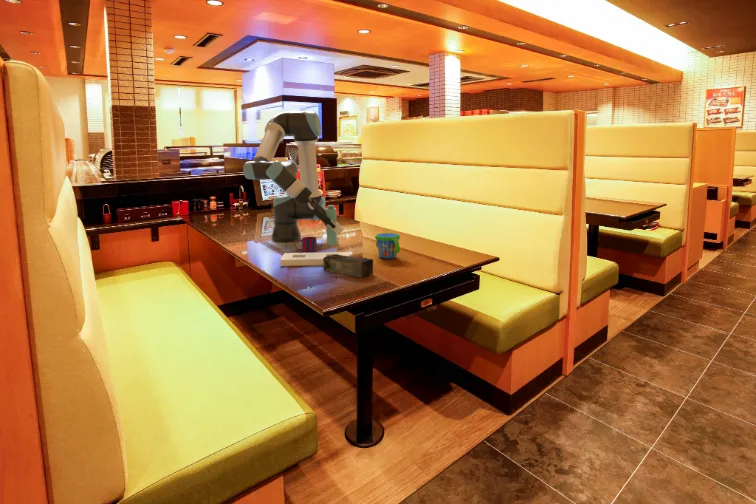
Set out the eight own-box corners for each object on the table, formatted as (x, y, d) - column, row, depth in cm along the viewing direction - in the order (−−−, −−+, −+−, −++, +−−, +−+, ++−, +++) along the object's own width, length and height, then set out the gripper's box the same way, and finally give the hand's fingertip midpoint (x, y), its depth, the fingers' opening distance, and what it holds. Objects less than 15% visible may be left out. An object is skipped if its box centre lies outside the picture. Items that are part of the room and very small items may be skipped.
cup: (317, 253, 220) (316, 239, 218) (294, 254, 218) (294, 239, 217) (316, 250, 226) (316, 236, 224) (295, 251, 225) (294, 236, 223)
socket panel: (284, 259, 208) (284, 253, 207) (349, 258, 210) (349, 252, 209) (280, 266, 196) (280, 259, 196) (349, 265, 198) (348, 258, 197)
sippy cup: (369, 255, 216) (369, 233, 214) (390, 252, 221) (390, 231, 218) (384, 262, 202) (384, 239, 200) (406, 260, 207) (406, 236, 205)
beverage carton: (335, 267, 196) (334, 251, 194) (374, 274, 186) (374, 257, 184) (322, 272, 189) (322, 255, 188) (362, 279, 179) (362, 262, 178)
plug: (327, 242, 203) (326, 205, 199) (336, 242, 204) (335, 204, 200) (327, 245, 199) (325, 206, 195) (336, 244, 200) (335, 206, 196)
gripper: (295, 196, 204) (335, 233, 209) (290, 202, 188) (334, 242, 193) (307, 183, 203) (347, 221, 208) (303, 188, 187) (346, 229, 192)
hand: (340, 231), depth 200 cm, fingers closed on plug, 4 cm apart
